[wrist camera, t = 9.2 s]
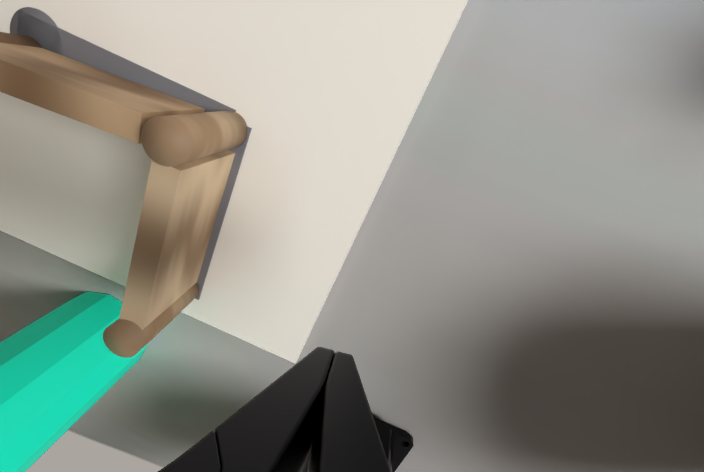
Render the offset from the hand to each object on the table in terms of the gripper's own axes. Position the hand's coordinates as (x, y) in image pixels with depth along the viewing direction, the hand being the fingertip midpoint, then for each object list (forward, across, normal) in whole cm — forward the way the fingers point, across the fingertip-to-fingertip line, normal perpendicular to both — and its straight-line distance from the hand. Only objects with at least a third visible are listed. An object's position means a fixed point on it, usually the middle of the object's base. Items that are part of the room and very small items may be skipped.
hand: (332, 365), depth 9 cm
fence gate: (+11, +14, -4) cm, 18 cm away
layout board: (+12, +12, -4) cm, 17 cm away
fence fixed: (+11, +9, +2) cm, 15 cm away
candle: (+12, +16, +12) cm, 24 cm away
